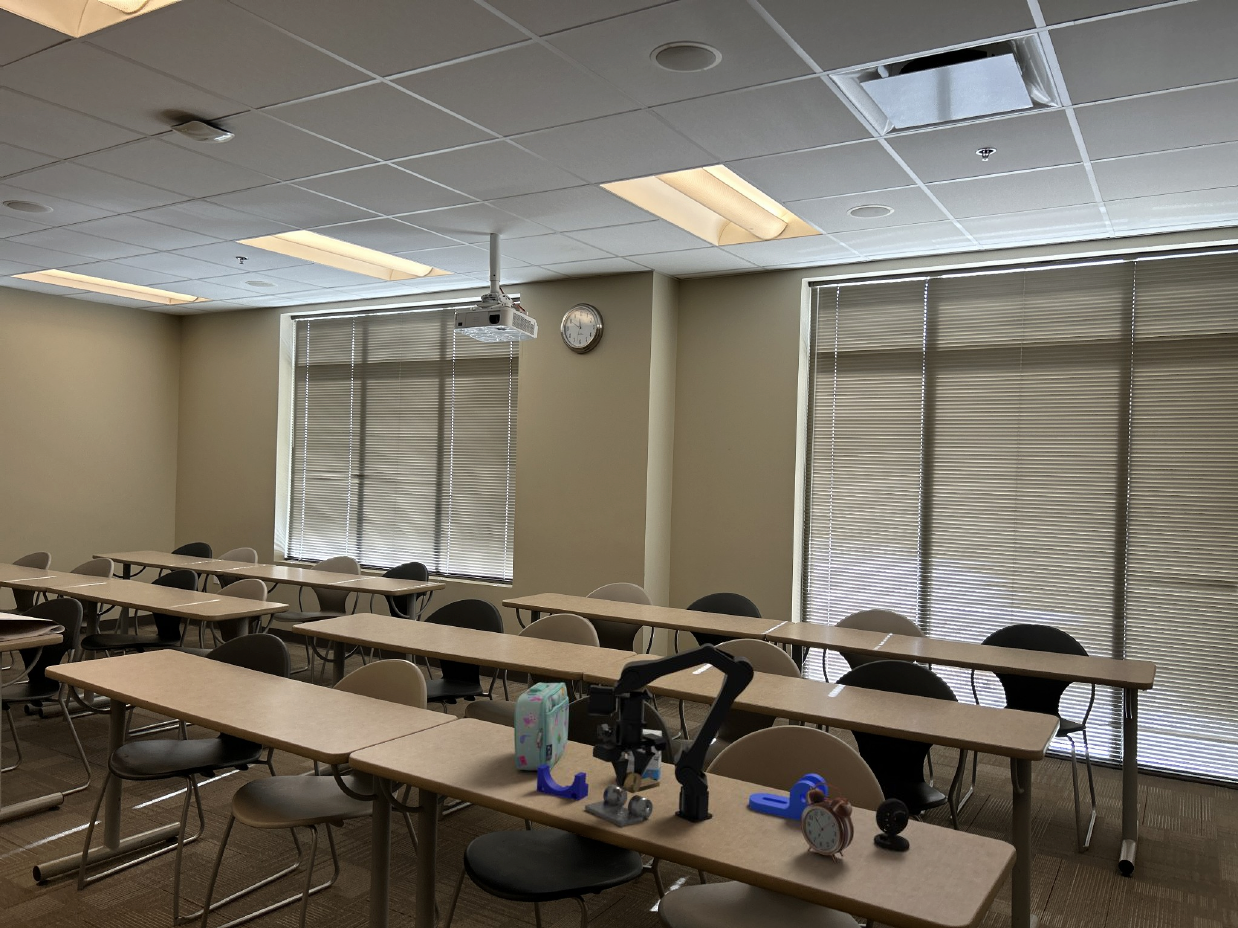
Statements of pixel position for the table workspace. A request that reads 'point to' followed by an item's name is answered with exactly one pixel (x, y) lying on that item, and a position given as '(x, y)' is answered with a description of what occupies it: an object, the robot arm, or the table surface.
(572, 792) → the blue semicircular cradle
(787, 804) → the bracket
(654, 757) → the ink box
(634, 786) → the brass hinge knuckle
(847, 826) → the alarm clock
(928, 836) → the table surface
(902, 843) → the webcam
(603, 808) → the fixed leaf
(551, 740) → the lunch box
